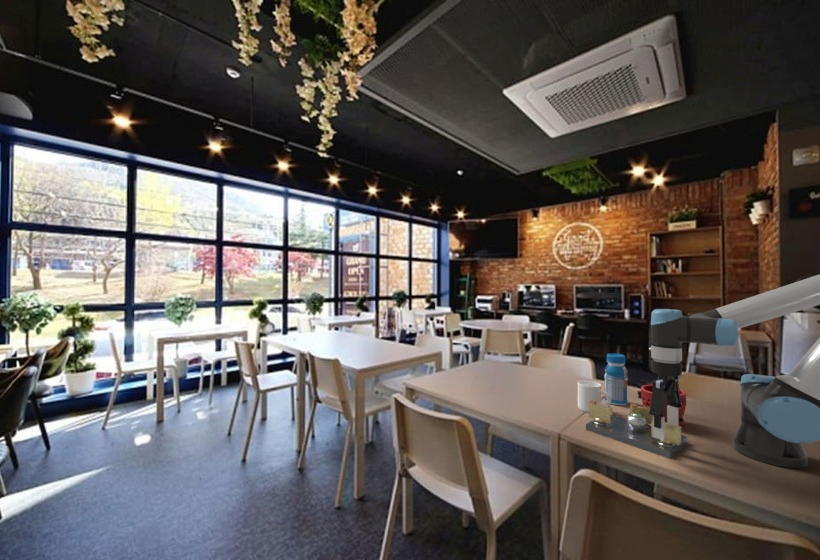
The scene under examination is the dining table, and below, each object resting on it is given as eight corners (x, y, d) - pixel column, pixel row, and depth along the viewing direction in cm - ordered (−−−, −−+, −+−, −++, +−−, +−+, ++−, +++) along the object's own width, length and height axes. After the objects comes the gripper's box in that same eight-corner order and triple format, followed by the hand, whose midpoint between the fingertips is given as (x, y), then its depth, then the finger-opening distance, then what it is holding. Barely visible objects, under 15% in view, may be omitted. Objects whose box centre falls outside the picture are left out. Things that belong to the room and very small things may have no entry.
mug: (614, 412, 133) (614, 386, 133) (606, 418, 128) (606, 390, 128) (582, 404, 142) (583, 379, 142) (574, 409, 137) (574, 383, 137)
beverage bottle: (611, 406, 140) (611, 357, 140) (600, 398, 149) (600, 352, 149) (632, 406, 140) (632, 357, 140) (620, 399, 149) (620, 352, 149)
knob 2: (682, 445, 102) (682, 424, 102) (678, 448, 100) (678, 426, 100) (654, 436, 107) (654, 416, 107) (650, 439, 106) (650, 419, 106)
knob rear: (652, 423, 117) (652, 405, 117) (656, 427, 114) (656, 408, 114) (629, 421, 120) (629, 402, 120) (632, 424, 117) (632, 406, 117)
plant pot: (649, 412, 134) (649, 381, 134) (691, 424, 123) (691, 390, 123) (634, 420, 126) (634, 387, 126) (677, 433, 115) (677, 397, 115)
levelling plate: (688, 442, 109) (688, 420, 109) (670, 458, 99) (670, 434, 99) (607, 418, 128) (607, 399, 128) (585, 429, 118) (585, 409, 118)
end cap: (657, 402, 145) (657, 386, 145) (637, 398, 150) (637, 382, 150) (661, 396, 152) (661, 381, 152) (642, 393, 157) (642, 378, 157)
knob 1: (613, 424, 117) (613, 405, 117) (608, 426, 115) (608, 407, 115) (592, 417, 123) (592, 399, 123) (587, 419, 121) (587, 401, 121)
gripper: (665, 353, 114) (664, 419, 114) (636, 363, 100) (635, 438, 100) (693, 357, 108) (693, 427, 108) (667, 369, 94) (667, 449, 94)
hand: (665, 432), depth 104 cm, fingers open, 11 cm apart
